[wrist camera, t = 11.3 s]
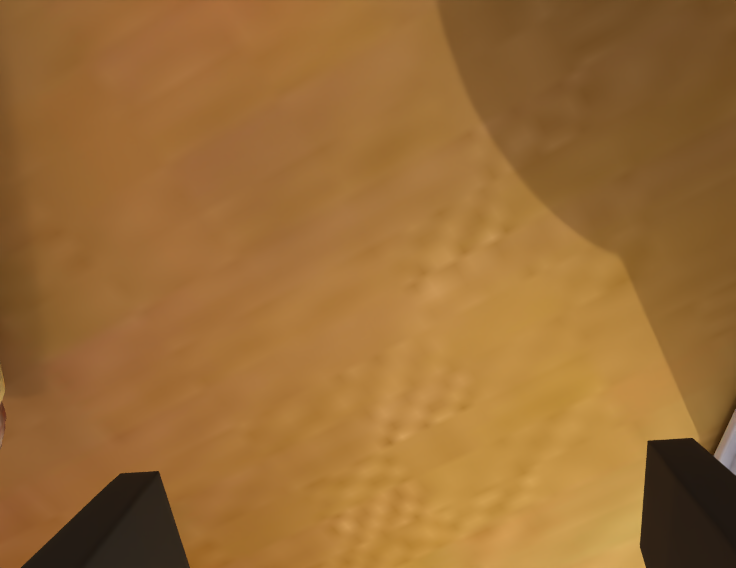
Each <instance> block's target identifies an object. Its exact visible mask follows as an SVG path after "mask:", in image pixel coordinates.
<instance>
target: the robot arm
mask: <svg viewBox="0 0 736 568" xmlns="http://www.w3.org/2000/svg"><path fill="white" fill-rule="evenodd" d="M640 549H641V552H642V555H643V559H644V562H645V566H646V568H736V409H735V411H734V413H733V415H732V418H731V420H730V422H729V424H728V426H727V428H726V430H725V432H724V435H723V437H722V439H721V441H720V443H719V445H718V447H717V450H716V452H715V454H714V456H713V455H712V454H710V453H709V452H708V451H707V450H706V449H705V448H703V447H702V446H701V445H700V444H699V443H698V442H696V441H695V440H694V439H693V438H685V439H669V440H653V441H648V444H647V458H646V471H645V485H644V498H643V512H642V525H641V539H640ZM21 568H190V567H189V564H188V560H187V557H186V554H185V551H184V548H183V545H182V542H181V539H180V536H179V532H178V529H177V526H176V523H175V520H174V517H173V514H172V511H171V508H170V504H169V501H168V498H167V495H166V492H165V489H164V486H163V483H162V480H161V477H160V473H159V471H153V472H137V473H121V474H119V475H118V476H117V477H116V478H115V479H114V480H113V481H112V482H110V483H109V484H108V485H107V486H106V487H105V488H104V489H103V490H102V491H101V492H100V493H99V494H97V495H96V496H95V497H94V498H93V499H92V500H91V501H90V502H89V503H88V504H87V505H86V506H85V507H84V508H83V509H82V510H81V511H80V512H79V513H78V514H77V515H76V516H75V517H73V518H72V519H71V520H70V521H69V522H68V523H67V524H66V525H65V526H64V527H63V528H62V529H61V530H60V531H59V532H58V533H57V534H56V535H55V536H54V537H53V538H52V539H51V540H50V541H49V542H47V543H46V544H45V545H44V546H43V547H42V548H41V549H40V550H39V551H38V552H37V553H36V554H35V555H34V556H33V557H32V558H31V559H29V560H28V561H27V562H26V563H25V564H24V565H23V566H22V567H21Z"/></svg>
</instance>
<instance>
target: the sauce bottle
mask: <svg viewBox="0 0 736 568" xmlns="http://www.w3.org/2000/svg"><path fill="white" fill-rule="evenodd" d="M4 392H5V383H4V377H3V372H2V367H1V363H0V449H1V447H2V440H3V435H4V431H5V421H6V413H5V409H4V407H3V403H2V399H3V396H4Z"/></svg>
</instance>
